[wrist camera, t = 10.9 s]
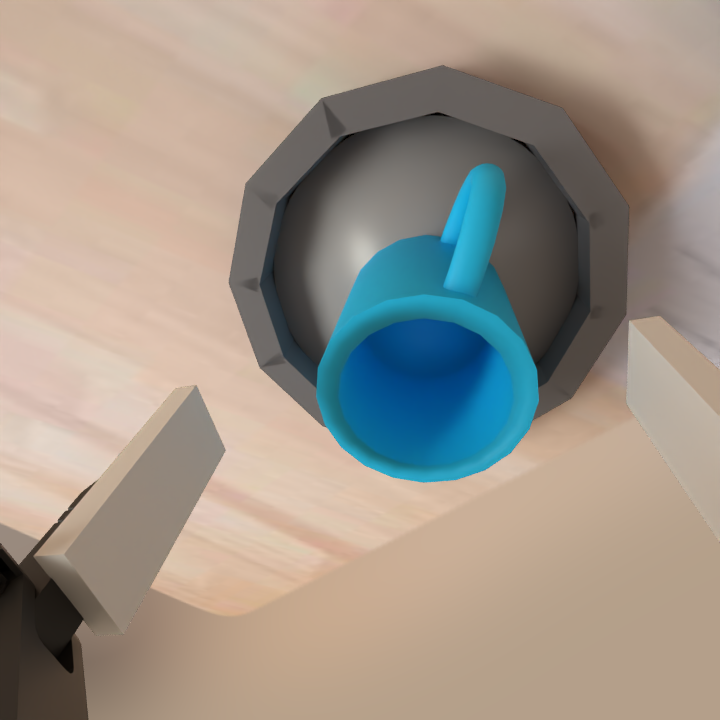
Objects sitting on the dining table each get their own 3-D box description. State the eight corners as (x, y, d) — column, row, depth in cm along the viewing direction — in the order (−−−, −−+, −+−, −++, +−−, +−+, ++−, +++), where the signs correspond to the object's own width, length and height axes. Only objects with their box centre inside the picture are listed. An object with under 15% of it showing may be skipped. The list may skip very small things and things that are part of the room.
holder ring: (304, 437, 30) (294, 463, 28) (200, 134, 22) (175, 137, 20) (607, 404, 26) (623, 431, 24) (610, 24, 19) (634, 13, 16)
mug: (472, 397, 27) (487, 504, 20) (333, 357, 27) (297, 450, 19) (571, 180, 21) (644, 219, 14) (393, 127, 21) (373, 140, 14)
